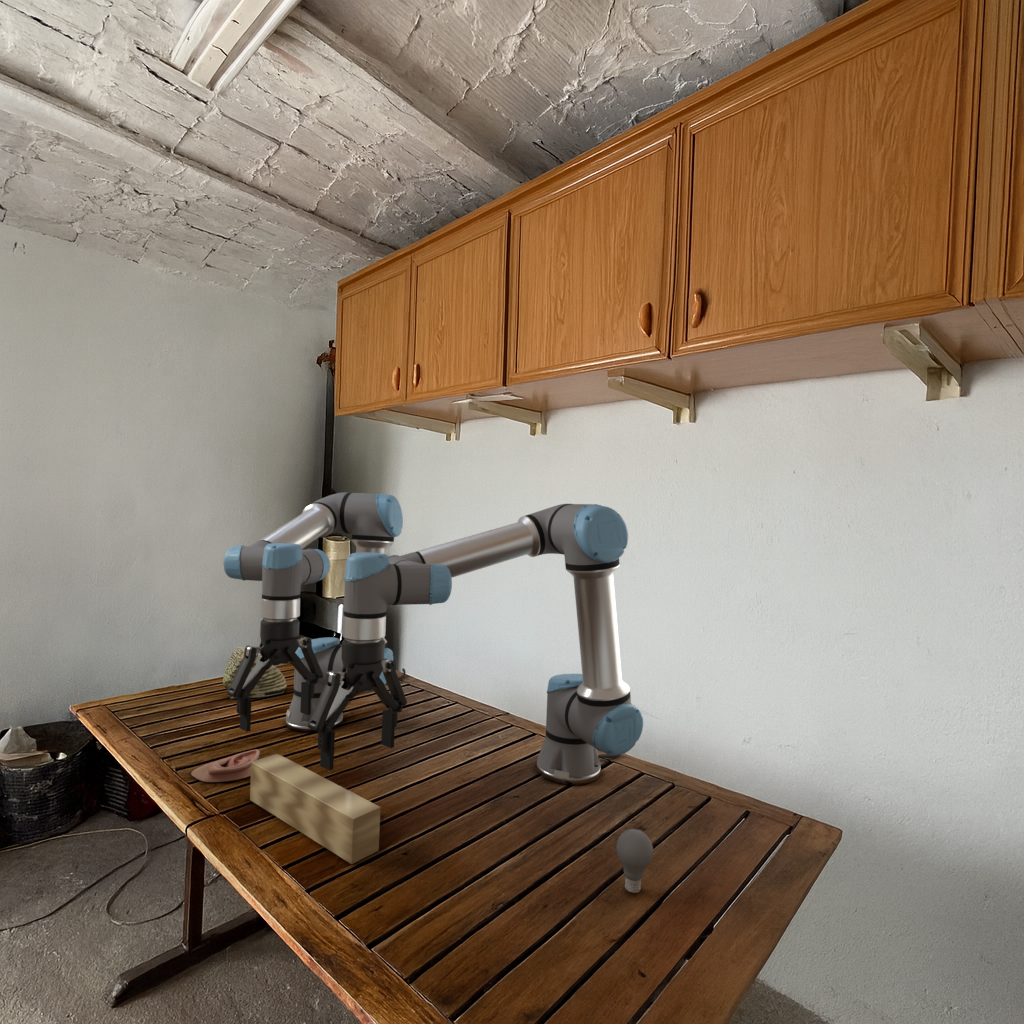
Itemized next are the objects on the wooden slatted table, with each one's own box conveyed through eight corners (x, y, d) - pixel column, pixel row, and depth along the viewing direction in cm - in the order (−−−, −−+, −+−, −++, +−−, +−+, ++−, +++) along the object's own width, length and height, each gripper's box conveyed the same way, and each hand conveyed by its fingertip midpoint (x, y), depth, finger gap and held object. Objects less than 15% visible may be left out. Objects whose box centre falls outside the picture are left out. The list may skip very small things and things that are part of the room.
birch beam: (249, 800, 131) (251, 761, 131) (276, 790, 136) (277, 753, 136) (351, 864, 110) (353, 819, 110) (378, 850, 115) (380, 806, 114)
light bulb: (610, 879, 108) (613, 822, 108) (644, 879, 109) (647, 822, 109) (619, 902, 102) (622, 840, 102) (655, 901, 103) (658, 840, 103)
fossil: (218, 695, 195) (220, 647, 195) (278, 685, 208) (279, 640, 207) (228, 703, 189) (230, 653, 188) (289, 692, 201) (290, 645, 201)
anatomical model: (182, 760, 139) (216, 741, 150) (181, 778, 139) (216, 758, 150) (236, 768, 136) (267, 748, 147) (235, 786, 136) (266, 765, 147)
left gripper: (321, 609, 142) (317, 703, 143) (211, 623, 123) (207, 731, 123) (342, 614, 138) (338, 711, 138) (230, 629, 118) (226, 742, 119)
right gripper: (401, 626, 126) (396, 732, 126) (289, 645, 106) (284, 771, 106) (428, 633, 121) (423, 743, 122) (316, 653, 102) (311, 785, 102)
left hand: (276, 721), depth 131 cm, fingers open, 13 cm apart
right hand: (358, 756), depth 114 cm, fingers open, 13 cm apart
